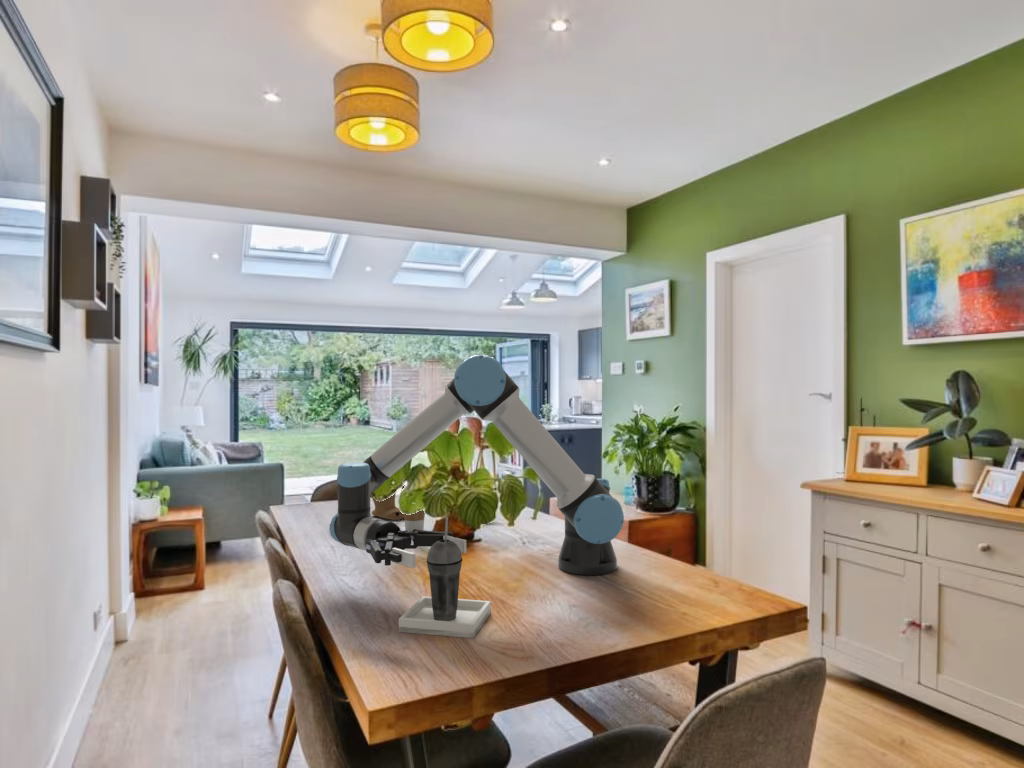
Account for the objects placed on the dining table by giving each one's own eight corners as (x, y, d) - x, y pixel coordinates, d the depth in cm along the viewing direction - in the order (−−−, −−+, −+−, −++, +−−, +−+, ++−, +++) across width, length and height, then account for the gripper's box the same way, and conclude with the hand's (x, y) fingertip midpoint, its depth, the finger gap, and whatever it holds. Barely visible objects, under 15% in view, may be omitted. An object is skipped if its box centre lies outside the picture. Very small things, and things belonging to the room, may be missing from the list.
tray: (490, 613, 128) (490, 601, 128) (473, 638, 116) (473, 625, 116) (423, 607, 132) (422, 596, 132) (398, 631, 119) (398, 618, 119)
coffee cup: (422, 533, 198) (421, 487, 198) (397, 532, 200) (397, 486, 200) (430, 527, 206) (430, 482, 206) (407, 526, 208) (406, 482, 208)
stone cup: (362, 516, 225) (362, 475, 225) (392, 512, 232) (392, 472, 232) (380, 523, 213) (380, 480, 213) (411, 519, 220) (411, 477, 220)
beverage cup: (419, 621, 122) (419, 520, 122) (437, 608, 128) (437, 513, 128) (452, 626, 119) (451, 523, 119) (469, 613, 126) (468, 515, 126)
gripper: (421, 542, 148) (484, 558, 134) (329, 565, 129) (390, 587, 115) (421, 511, 148) (484, 524, 134) (329, 529, 129) (389, 547, 115)
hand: (440, 553), depth 124 cm, fingers open, 13 cm apart
